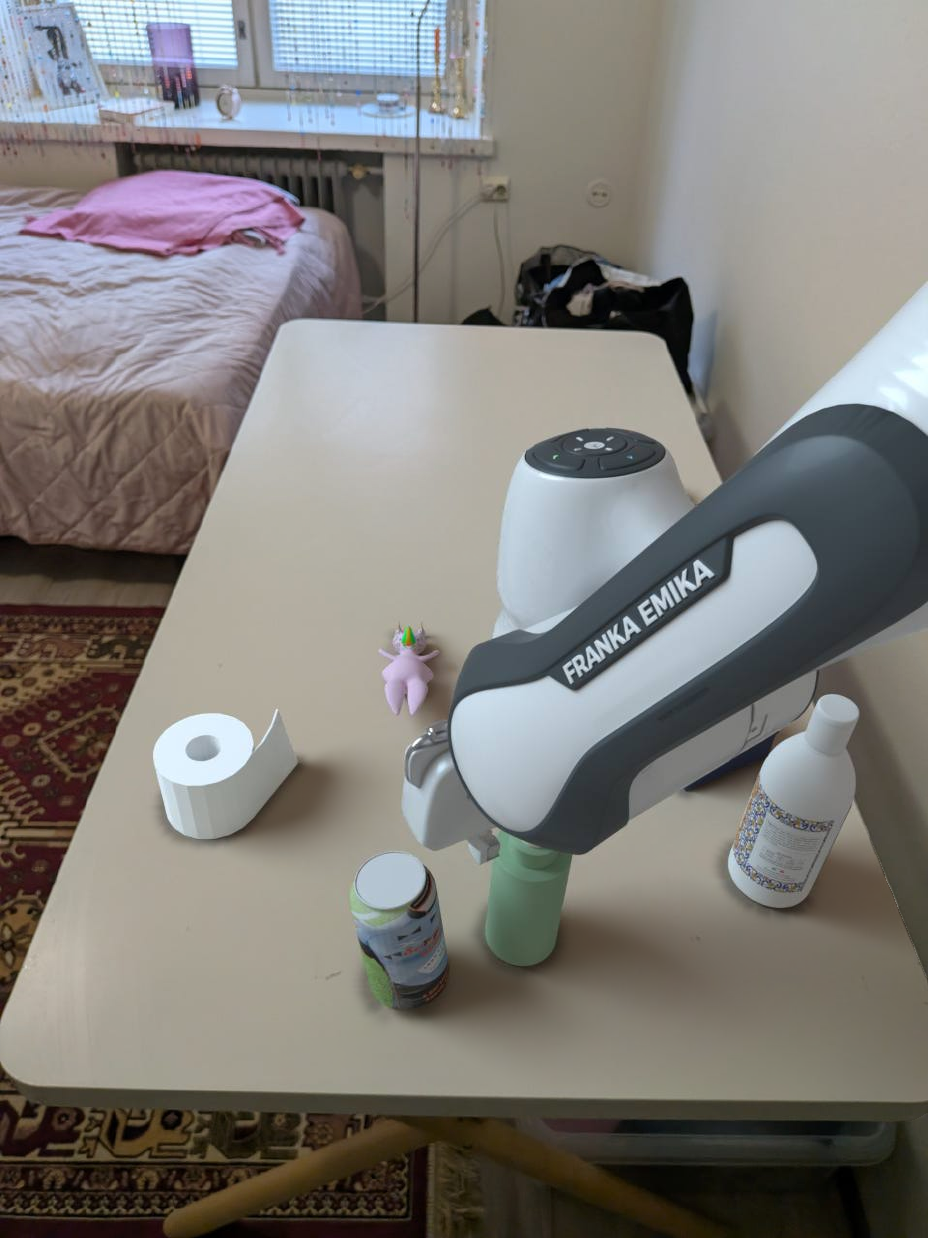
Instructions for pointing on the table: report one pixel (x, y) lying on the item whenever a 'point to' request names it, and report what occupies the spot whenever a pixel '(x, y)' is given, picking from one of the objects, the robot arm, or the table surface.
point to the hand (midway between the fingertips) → (542, 829)
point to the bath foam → (797, 808)
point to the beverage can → (400, 930)
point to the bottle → (525, 900)
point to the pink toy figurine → (407, 670)
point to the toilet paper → (219, 772)
